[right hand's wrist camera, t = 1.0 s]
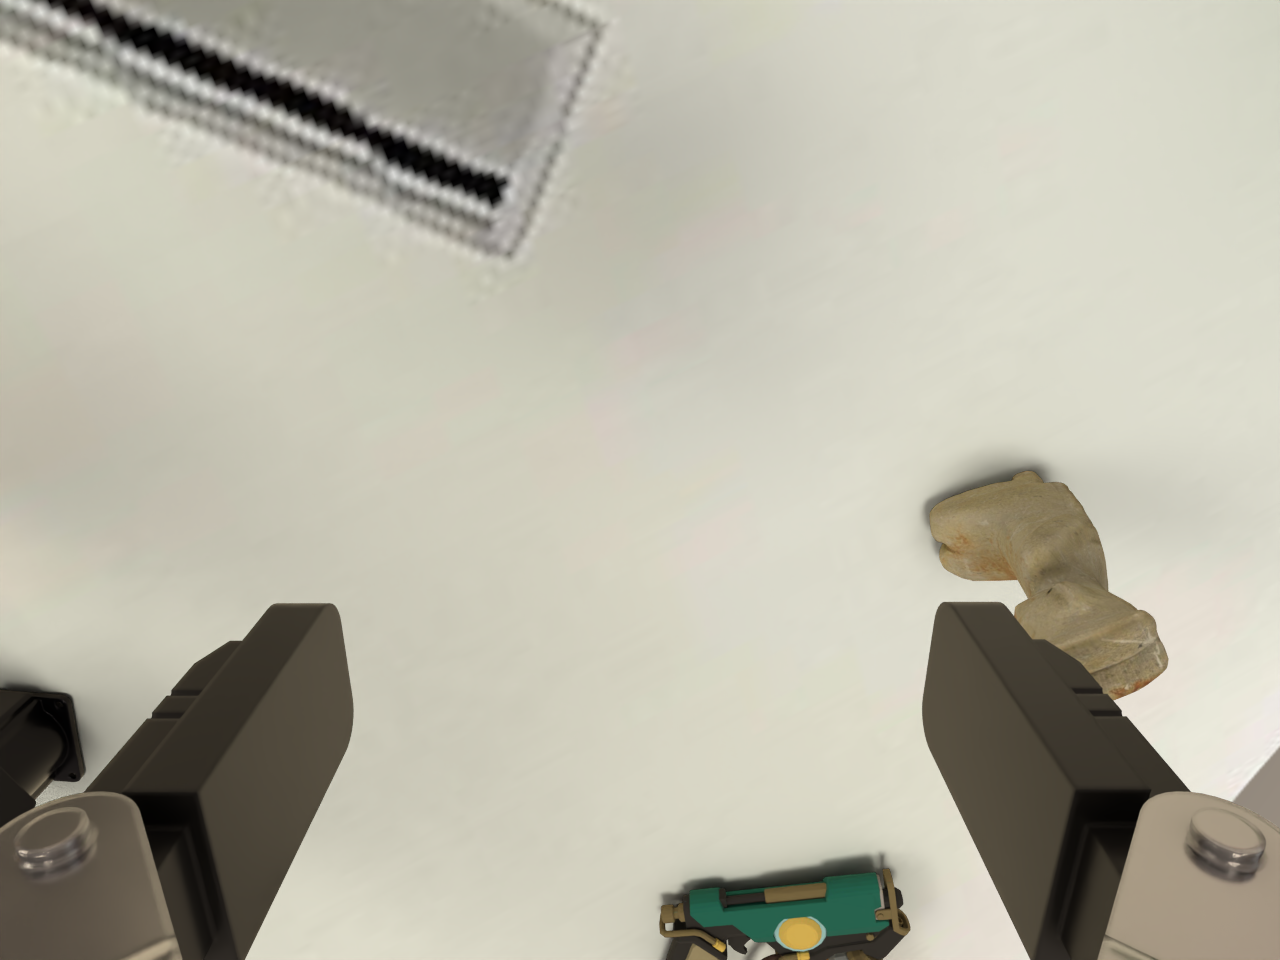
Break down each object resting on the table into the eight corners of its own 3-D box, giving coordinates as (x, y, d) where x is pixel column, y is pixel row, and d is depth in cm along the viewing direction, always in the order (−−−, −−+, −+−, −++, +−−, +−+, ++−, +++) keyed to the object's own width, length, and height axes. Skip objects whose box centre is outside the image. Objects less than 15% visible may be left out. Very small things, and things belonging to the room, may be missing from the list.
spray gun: (650, 988, 63) (669, 826, 58) (873, 1014, 62) (912, 853, 58) (647, 1042, 59) (667, 874, 54) (886, 1071, 58) (928, 903, 54)
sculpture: (912, 490, 48) (1024, 633, 34) (1038, 443, 47) (1208, 570, 33) (939, 575, 50) (1057, 743, 36) (1061, 532, 48) (1231, 687, 35)
